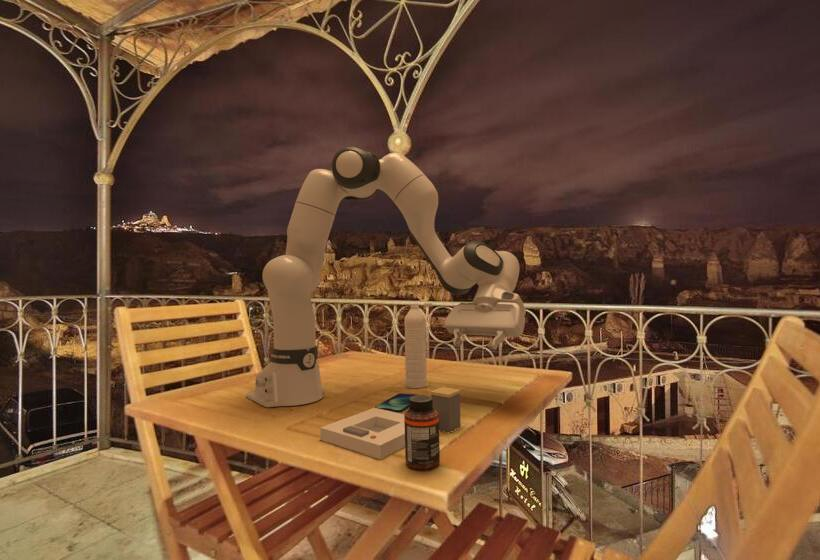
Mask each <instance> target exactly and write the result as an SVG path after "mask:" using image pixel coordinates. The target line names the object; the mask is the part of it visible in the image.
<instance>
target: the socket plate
mask: <svg viewBox="0 0 820 560" xmlns="http://www.w3.org/2000/svg"><path fill="white" fill-rule="evenodd" d="M404 415H405V413H396V412H391V411H387V410H383V409H378V408H375V407H373V408H371V409H367V410H365V411H361V412H359V413H356V414H353V415H352V416H351V415H350V416H348V417H345V418H343V419H340V420H338V421H334V422H331V423H329V424H326V425H324V426H322V427H320V428H319V429H320V432H319V433H320V441H321V440H322V441H321V442H325V443H328V442H329V443H328V444H331V443H332V444H331V445H334V444H336V445H335V446H337V445H339V446H338V447H340V446H342V447H341V448H343V447H345V448H344V449H346V448H348V449H347V450H349V449H350V451H352V450H354V451H353V452H355V451H357V452H356V453H358V452H360V453H359V454H361V453H363V454H362V455H365V456H368V457H371V458H373V459H378V460H383V459H384V458H386V457H389V456H390V455H392V454H393V453H396V452H398V451H400V450H401V449H405V423H404Z"/></svg>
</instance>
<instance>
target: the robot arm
mask: <svg viewBox="0 0 820 560" xmlns="http://www.w3.org/2000/svg"><path fill="white" fill-rule="evenodd" d="M379 191H382V192H384V193H385V194H386V195H387V196H388V197H389V198H390V200H392V202H393V203H394V204H395V205H396V207H397V208H398V209H399V211H400V213H401V214H402V216H403V218H404V220H405V221H406V225H407V228H408V232H409V234H410V235H411V237H412V239H413V240H414V242H415V243H416V245H417V247H419V249H420V250H421V252H422V254H423V256H425V258H426V259H427V261H428V262H429V264H430V266H431V267H432V268H433V270H434V272H435V274H436V276H437V279H438V281H439V283H440V285H441V287H442V288H443V289H444V290H445V291H447V292H448V293H450V294H452V295H456V296H461V295H462V296H463V295H465V294H467V293H468V292H469V291H470V290H471V289H472V288H473V287H474V286H475V285H476V284H477V285H478V288H477V291H476V293H475V295H474V298H473V300H472V302H460V303H459V304H456V305H454V306H453V308H451V310H450V312H449V313H448V315H447V317H446V318H445V321H444V327H445V329H446V330H447V332H448V333H449V334H453V335H454V339H453V343H452V344H453V346H454V348H462V345H463V343H464V342H463V340H462V338H461V337H463V335H472V336H490V337H491V336H494V338H493V339H489V341H488V344H487V346H488V348H489V350H491V351H492V350H493V351H496V350H497V348H498V347H499V345H500V344H501V343H502V342H504V341H505V340H506V337H510V338H518V337H520V336H522V334H523V333H524V329H525V324H526V318H525V316H526V313H527V311H526V307H525V304H524V302H523V300H522V299H521V297H520V295H519V294H518V293H515V292H514V291H515V289H516V286H517V283H518V280H519V275H520V263H519V260H518V258H517V256H515V254H513V253H511V252H509V251H506V250H495V249H494V248H492V247H491V246H489V245H488V244H486V243H485V242H482V241H478V240H471V241H469V242H467V243H466V244H465V245H464V246H462V247H461V248H460V249H459V250H458V251H457V252H456V254H454V255H453V256H451V254H450V253H449V251H448V249H446V247H445V245H444V244H443V243H442V241H441V240H440V239H439V237H438V235H437V233H436V229H435V219H436V213H437V210H438V206H439V194H438V191H437V189H436V187H435V185H434V184H433V182H432V181H431V180H430V179H429V178H428V177H427V175H426V174H425V173H424V172H423V171H422V170H421V169H420V168H419V167H418V166H417V165H416V164H415V163H414V162H413V161H411V160H410V159H409V158H407V157H406V156H405V155H404V154H402V153H400V152H396V151H395V152H390V153H388V154H386V155H384V156H383V157H382V158H380V159H379V157H378V155H377V154H375V153H373V152H371V151H367V150H364V149H361V148H358V147H356V146H345V147H343V148H340V150H338V151H337V152H336V153H335V155H334V156H333V158H332V161H331V170H330V169H329V170H328V169H324V168H316V169H315V168H314V169H313V170H311V171H310V172H308V175H307V176H306V177H305V180H304V182H303V183H302V185H301V187H300V190H299V192H298V195H297V198H296V200H295V203H294V207H293V210H292V213H291V217H290V219H289V222H288V225H287V227H286V228H287V229H286V234H287V241H286V249H285V254H283V255H279V256H277V257H275V258H272V259H271V260H270V261H268V262H267V263H265V264H266V265H265V266H264V268H263V270H262V276H261V277H262V282H263V284H264V286H265V288H266V291H267V295H268V299H269V305H270V309H271V315H272V320H273V322H272V323H273V324H272V325H273V348H272V349H269V350H268V355H270V358H269V363H268V364H267V365H266V366H264V367H263V369H261V371H259V372H258V373H257V374H256V376H255V384H254V386H255V387H254V388H255V389H253V390H251V391H249V392H247V393H246V395H245V396H246V397H245V398H248V399H249V400H251V401H253V402H255V403H257V404H258V405H261V406H262V407H265V408H273V407H274V408H275V407H291V406H292V407H293V406H302V405H306V404H312V403H315V402H318V401H320V400H321V399H322V398H323V397H324V395H323V394H324V393H325V388H324V387H322V379H321V372H320V371H321V370H320V365H319V363H318V362H317V359H319V355H318V354H319V350H318V346H317V345H316V344H317V341H316V330H317V329H316V316H315V314H314V309H313V305H312V299H311V293H312V292H314V291H315V290H316V289H317V287H318V286H319V284H320V281H321V273H322V268H323V265H324V260H325V259H324V258H325V254H326V253H325V252H326V246H327V243H328V240H329V235H330V233H331V229H332V227H333V224H334V220H335V217H336V214H337V210H338V207H339V205H340V203H341V201H342V200H343V199H345V200H346V201H347V200H353V201H354V200H357V201H359V200H360V201H361V200H362V201H363V200H369V199H371V198H373V197H375V196H376V194H377V193H378V192H379Z"/></svg>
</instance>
